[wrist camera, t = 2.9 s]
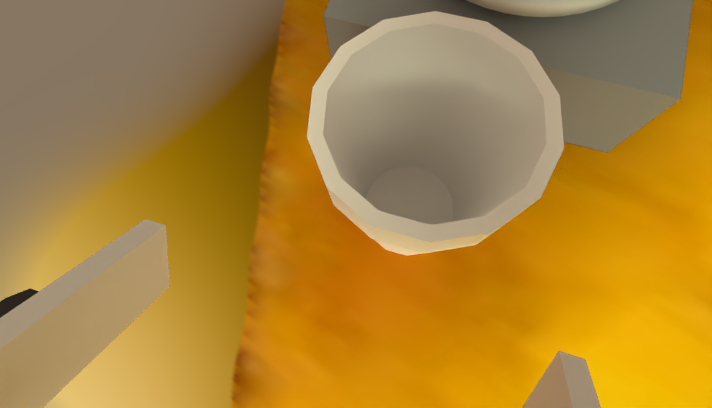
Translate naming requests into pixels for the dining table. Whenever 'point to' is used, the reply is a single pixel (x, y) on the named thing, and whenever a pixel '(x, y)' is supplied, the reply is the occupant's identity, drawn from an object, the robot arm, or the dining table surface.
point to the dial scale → (569, 52)
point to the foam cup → (434, 131)
